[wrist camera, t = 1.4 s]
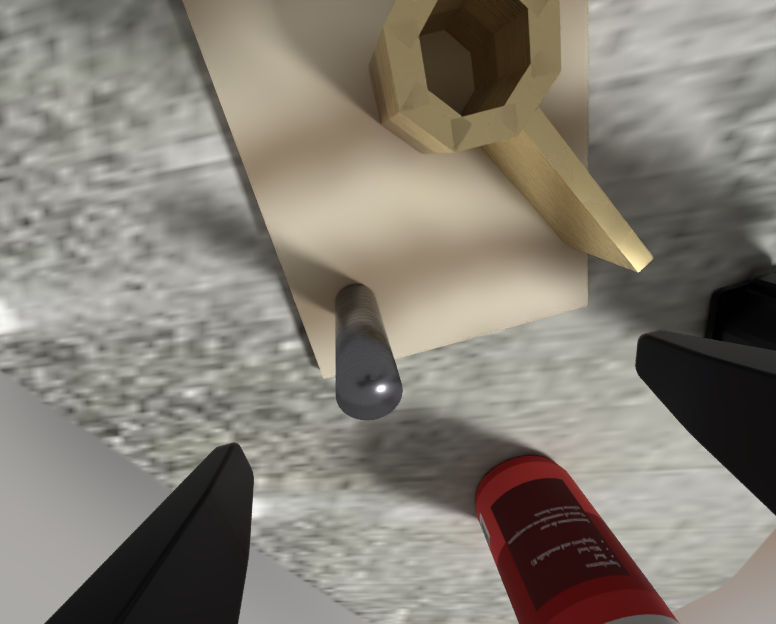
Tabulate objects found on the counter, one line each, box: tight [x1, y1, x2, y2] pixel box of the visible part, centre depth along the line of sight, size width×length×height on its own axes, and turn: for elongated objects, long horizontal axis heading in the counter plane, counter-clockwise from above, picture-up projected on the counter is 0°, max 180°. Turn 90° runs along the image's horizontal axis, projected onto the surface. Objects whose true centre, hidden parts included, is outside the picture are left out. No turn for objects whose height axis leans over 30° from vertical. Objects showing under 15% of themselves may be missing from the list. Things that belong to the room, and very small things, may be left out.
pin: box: [335, 284, 403, 420], centre depth 15 cm, size 2×2×8 cm
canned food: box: [475, 456, 680, 624], centre depth 23 cm, size 8×8×11 cm
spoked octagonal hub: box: [368, 0, 654, 273], centre depth 13 cm, size 18×9×5 cm, turn 13°
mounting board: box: [182, 0, 588, 379], centre depth 17 cm, size 22×16×1 cm
